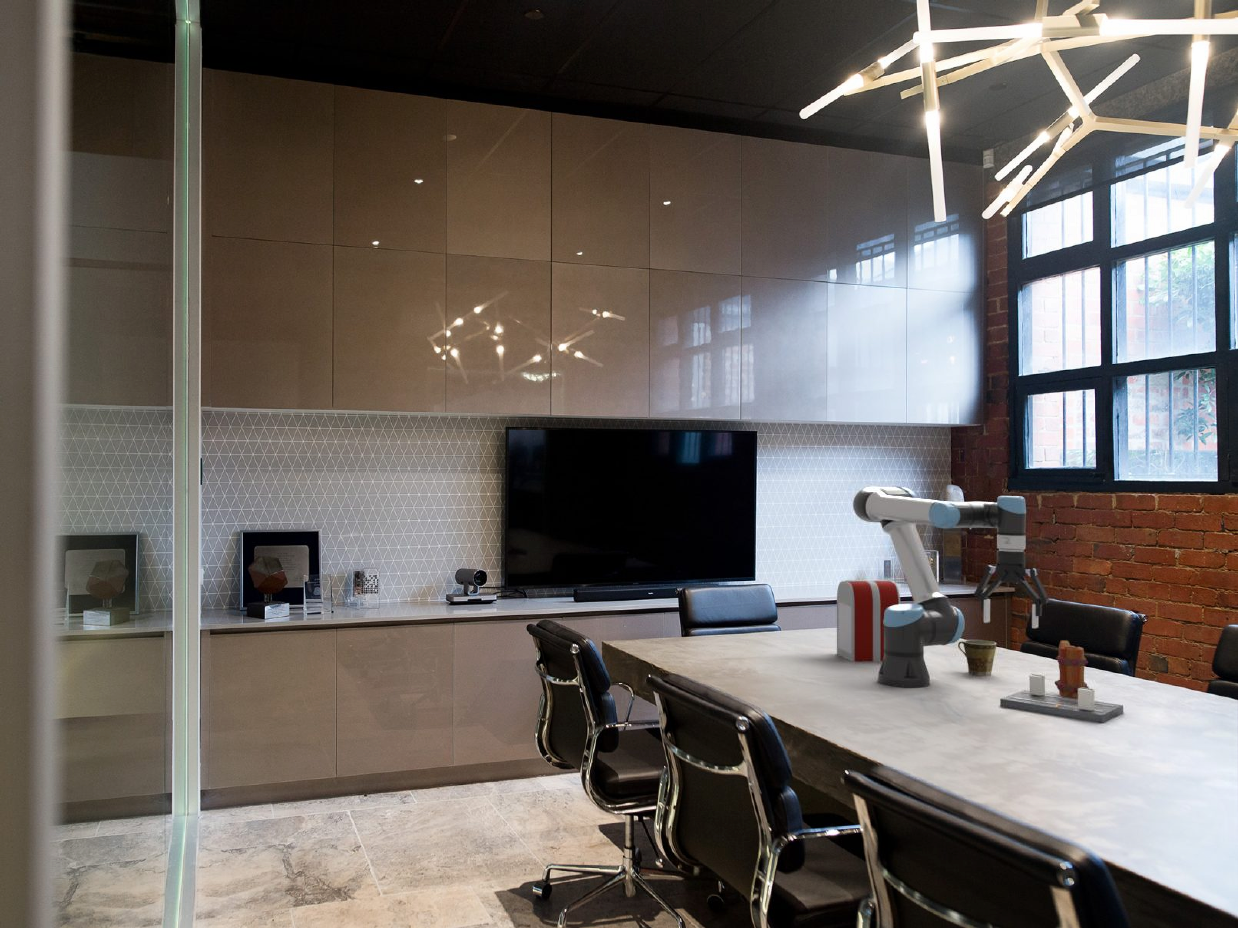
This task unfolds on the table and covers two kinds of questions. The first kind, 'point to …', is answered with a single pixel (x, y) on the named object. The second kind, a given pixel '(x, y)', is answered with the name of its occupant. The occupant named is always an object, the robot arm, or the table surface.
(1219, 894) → the table surface
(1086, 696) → the fader near
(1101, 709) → the console
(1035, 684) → the fader far
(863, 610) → the red striped block
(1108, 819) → the table surface
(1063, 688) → the mug
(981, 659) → the ceramic cup
